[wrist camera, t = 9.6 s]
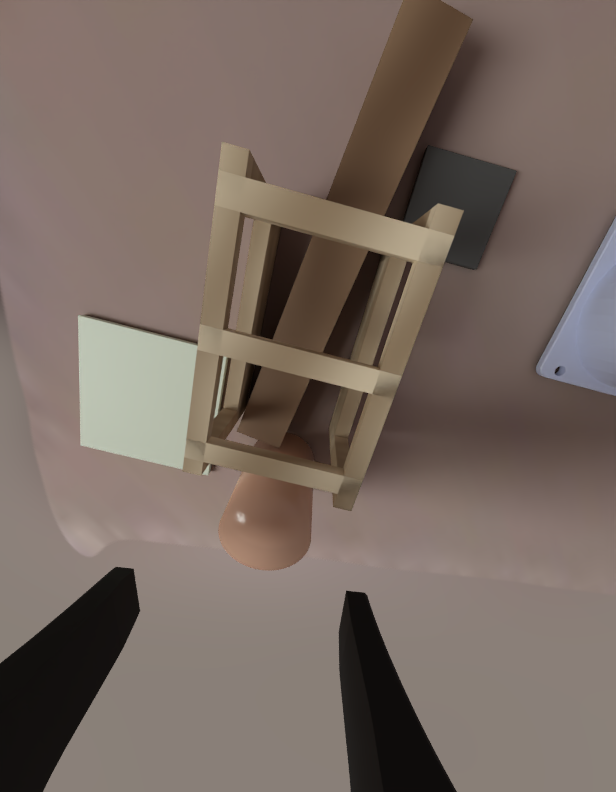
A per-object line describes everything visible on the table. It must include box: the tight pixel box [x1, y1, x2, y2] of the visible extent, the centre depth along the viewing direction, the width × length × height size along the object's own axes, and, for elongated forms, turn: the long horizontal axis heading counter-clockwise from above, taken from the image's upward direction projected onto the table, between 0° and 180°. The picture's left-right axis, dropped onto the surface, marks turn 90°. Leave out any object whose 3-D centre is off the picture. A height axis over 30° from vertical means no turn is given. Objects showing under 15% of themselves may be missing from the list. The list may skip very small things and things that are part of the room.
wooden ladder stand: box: [182, 142, 464, 511], centre depth 12 cm, size 6×10×7 cm, turn 166°
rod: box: [237, 0, 473, 448], centre depth 14 cm, size 2×18×2 cm, turn 157°
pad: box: [78, 315, 228, 475], centre depth 17 cm, size 8×8×1 cm
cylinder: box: [218, 432, 314, 570], centre depth 15 cm, size 4×4×6 cm
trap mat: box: [403, 145, 517, 270], centre depth 13 cm, size 4×4×1 cm
